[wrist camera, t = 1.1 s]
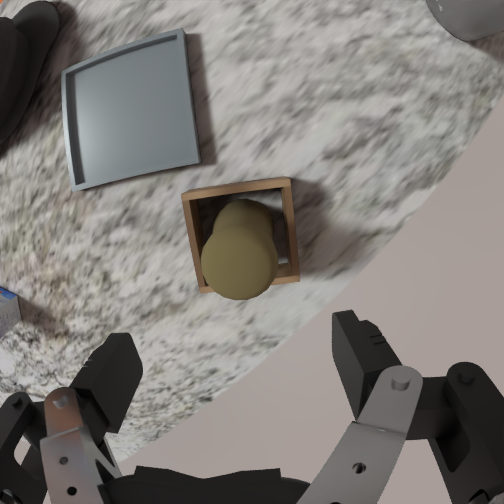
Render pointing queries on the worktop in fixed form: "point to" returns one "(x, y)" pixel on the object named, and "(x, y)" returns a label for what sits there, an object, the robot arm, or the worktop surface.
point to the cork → (240, 251)
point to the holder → (189, 198)
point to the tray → (129, 111)
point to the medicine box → (8, 311)
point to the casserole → (23, 58)
